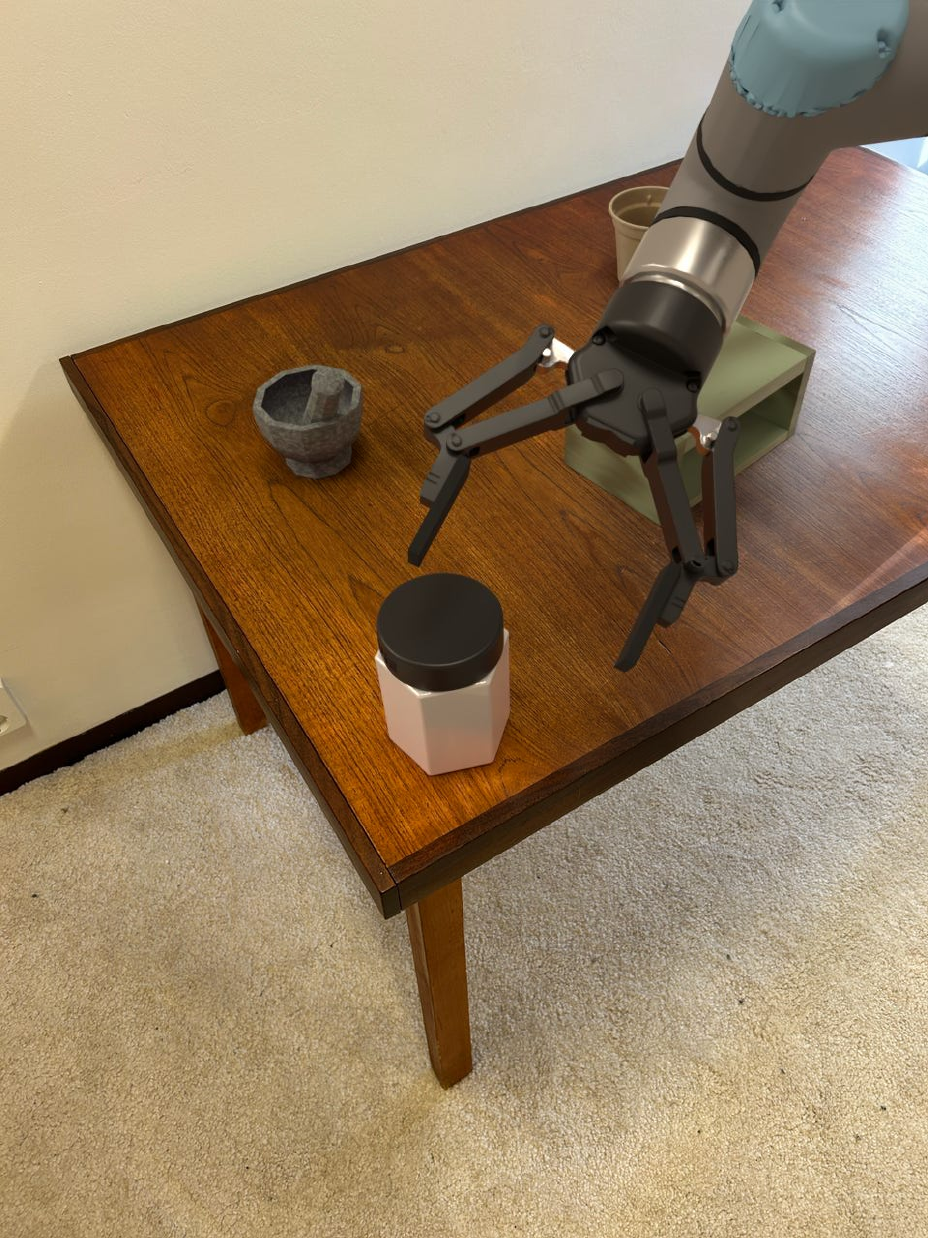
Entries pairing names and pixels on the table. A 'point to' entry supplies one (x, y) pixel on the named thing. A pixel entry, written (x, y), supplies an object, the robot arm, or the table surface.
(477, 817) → the table surface
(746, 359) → the olive green cubby
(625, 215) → the flower pot
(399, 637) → the jar
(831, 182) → the table surface
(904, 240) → the table surface
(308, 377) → the mortar and pestle
